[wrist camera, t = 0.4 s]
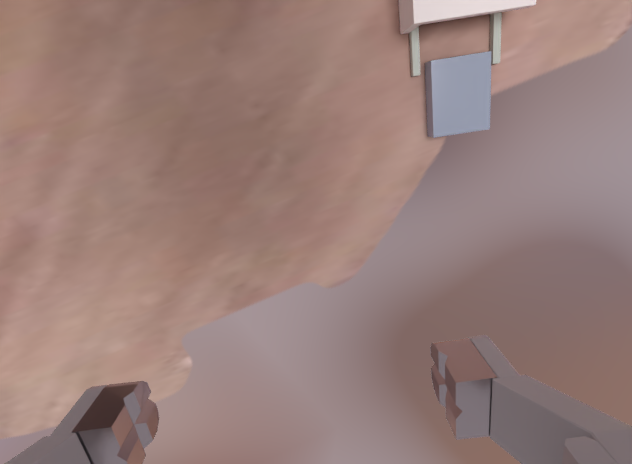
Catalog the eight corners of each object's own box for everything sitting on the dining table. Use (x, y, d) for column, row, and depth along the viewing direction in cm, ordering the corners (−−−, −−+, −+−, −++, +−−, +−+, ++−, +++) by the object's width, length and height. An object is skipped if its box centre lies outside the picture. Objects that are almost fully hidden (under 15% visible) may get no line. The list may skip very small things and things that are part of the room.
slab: (423, 63, 49) (431, 60, 47) (480, 54, 49) (491, 51, 46) (426, 136, 53) (433, 137, 50) (479, 127, 53) (489, 129, 50)
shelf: (395, -46, 45) (409, -70, 39) (509, -65, 44) (541, -92, 38) (402, 78, 50) (416, 73, 44) (504, 62, 49) (532, 55, 43)
